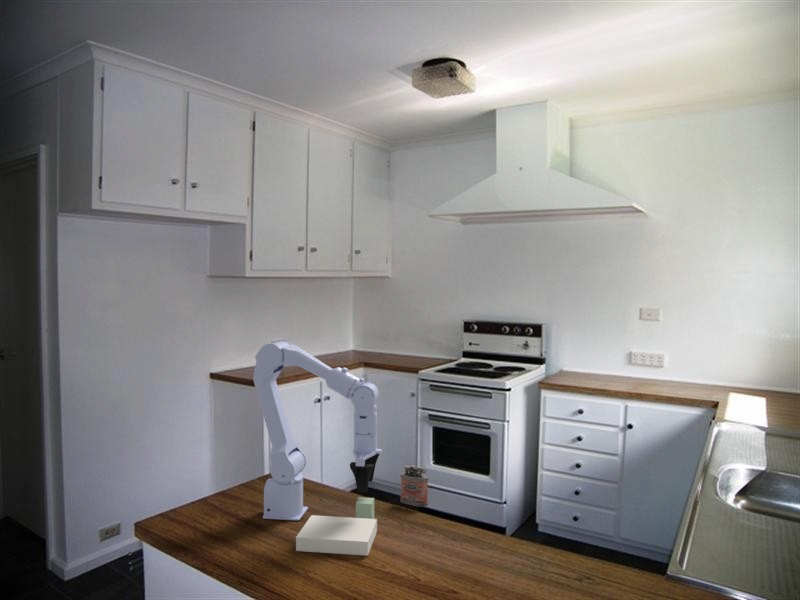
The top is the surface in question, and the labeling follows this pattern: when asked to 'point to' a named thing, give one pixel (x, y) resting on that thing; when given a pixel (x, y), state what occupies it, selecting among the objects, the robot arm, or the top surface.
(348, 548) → the base plinth
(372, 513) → the green block
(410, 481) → the lighter
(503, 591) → the top surface
